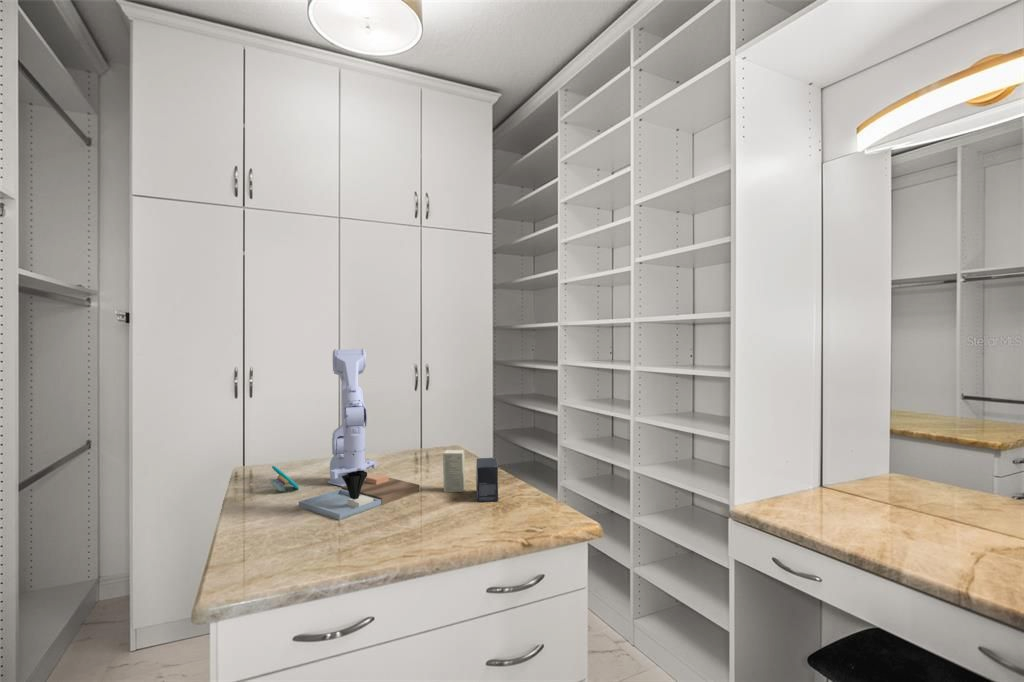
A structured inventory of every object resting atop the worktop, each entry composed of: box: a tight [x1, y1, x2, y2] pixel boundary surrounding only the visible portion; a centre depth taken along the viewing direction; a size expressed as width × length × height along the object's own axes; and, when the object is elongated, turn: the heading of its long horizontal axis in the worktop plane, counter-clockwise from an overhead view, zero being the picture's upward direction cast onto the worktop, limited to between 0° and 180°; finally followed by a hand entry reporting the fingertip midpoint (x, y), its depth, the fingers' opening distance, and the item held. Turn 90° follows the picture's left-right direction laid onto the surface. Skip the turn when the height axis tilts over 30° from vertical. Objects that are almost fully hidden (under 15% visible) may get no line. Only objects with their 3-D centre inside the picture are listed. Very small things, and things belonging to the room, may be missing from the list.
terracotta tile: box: [365, 473, 390, 485], centre depth 159 cm, size 5×5×2 cm
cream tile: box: [347, 495, 373, 508], centre depth 142 cm, size 5×5×2 cm
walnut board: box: [340, 477, 421, 506], centre depth 154 cm, size 18×15×2 cm
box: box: [298, 488, 382, 521], centre depth 142 cm, size 18×14×2 cm
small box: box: [475, 457, 499, 503], centre depth 151 cm, size 11×6×10 cm, turn 5°
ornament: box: [269, 465, 300, 493], centre depth 155 cm, size 11×4×10 cm
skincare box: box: [442, 449, 466, 493], centre depth 157 cm, size 6×4×12 cm
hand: (354, 498), depth 141 cm, fingers closed
